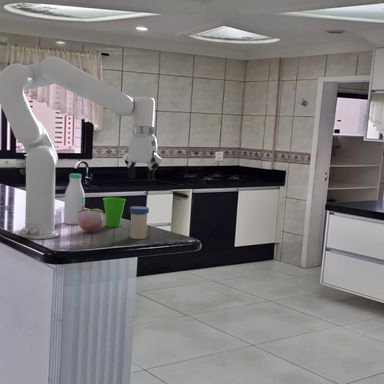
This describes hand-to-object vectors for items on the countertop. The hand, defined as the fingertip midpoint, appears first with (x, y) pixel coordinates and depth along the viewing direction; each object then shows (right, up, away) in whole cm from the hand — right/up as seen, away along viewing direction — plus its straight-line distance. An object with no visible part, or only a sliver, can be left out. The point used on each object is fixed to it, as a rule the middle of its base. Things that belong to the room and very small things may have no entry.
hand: (141, 179), depth 206 cm
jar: (-2, -21, +2) cm, 21 cm away
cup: (-16, -19, +22) cm, 33 cm away
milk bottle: (-32, -17, +22) cm, 42 cm away
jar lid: (-1, -11, +1) cm, 11 cm away
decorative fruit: (-20, -20, +5) cm, 29 cm away
